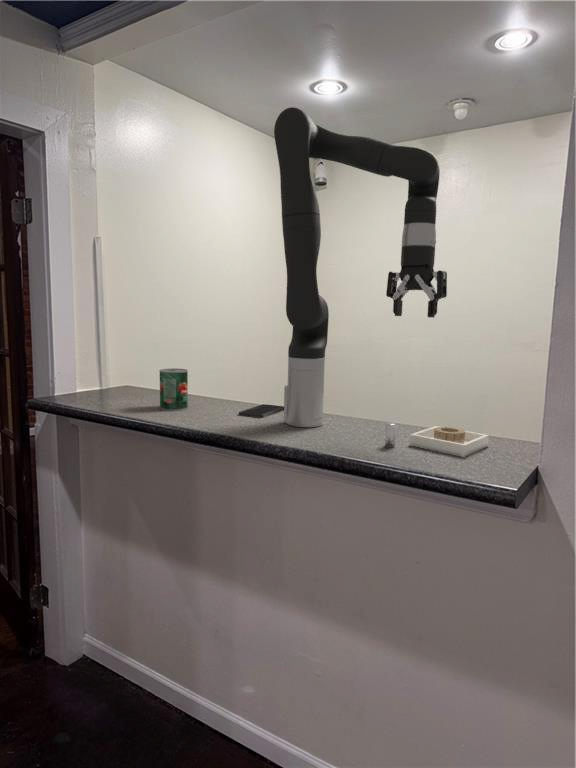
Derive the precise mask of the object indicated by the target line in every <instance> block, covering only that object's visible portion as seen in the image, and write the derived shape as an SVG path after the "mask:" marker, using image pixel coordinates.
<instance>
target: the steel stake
mask: <svg viewBox="0 0 576 768" xmlns="http://www.w3.org/2000/svg"><path fill="white" fill-rule="evenodd" d="M396 435H397V424H396V423H395V422H387V423H386V422H385V435H384V438H385V439H384V447H385V448H390V447H392V448H395V447H396Z"/></svg>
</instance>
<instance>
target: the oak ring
mask: <svg viewBox="0 0 576 768" xmlns="http://www.w3.org/2000/svg"><path fill="white" fill-rule="evenodd" d="M465 431H466V430H464V429H462V428H458V427H453V426H440V427H437V428H434V438H435V439H440V440H445V441H450V442H455V443H460V444H464V440H465Z"/></svg>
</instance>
